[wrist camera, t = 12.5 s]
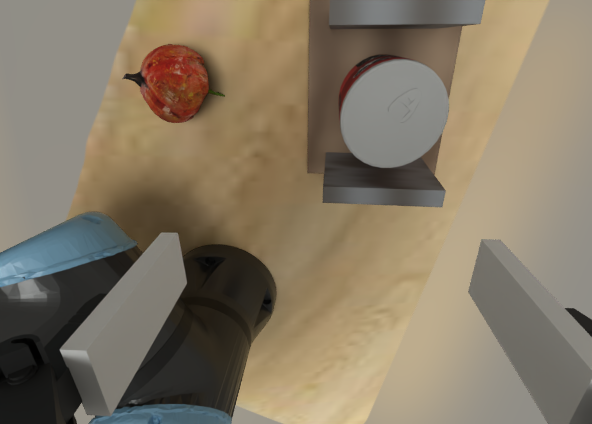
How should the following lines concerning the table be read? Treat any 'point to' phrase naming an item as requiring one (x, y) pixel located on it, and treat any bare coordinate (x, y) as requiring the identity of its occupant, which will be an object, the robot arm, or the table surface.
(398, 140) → the canned food
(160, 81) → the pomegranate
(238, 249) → the robot arm
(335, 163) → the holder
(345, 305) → the table surface
